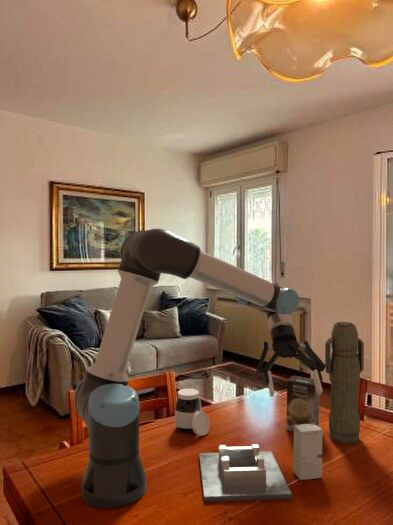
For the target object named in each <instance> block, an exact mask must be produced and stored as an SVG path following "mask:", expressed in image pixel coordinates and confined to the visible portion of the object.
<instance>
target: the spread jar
mask: <svg viewBox="0 0 393 525" xmlns="http://www.w3.org/2000/svg"><path fill="white" fill-rule="evenodd" d="M210 422H211V421H210V418H209V416H208V414H207V413H206V412H204V411H202V400H201V398H200V392H199V390H197V389H195V388H183V389H179V390H178V391H177V399H176V402H175V406H174V425H175V428H176V429H177V430H178V431H180V432H183V433H193V432H194V434H196V435H197V436H200V437H202V436H206V435H207V434H208V432H209V431H210V426H211V423H210Z"/></svg>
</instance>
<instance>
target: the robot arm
mask: <svg viewBox="0 0 393 525" xmlns="http://www.w3.org/2000/svg"><path fill="white" fill-rule="evenodd" d="M119 248H120V250H119V257H120V263H119V266H118V270H117V272H118V275H119V277H120V282H119V284H118V288H117V291H116V295H115V298H114V302H113V305H112V307H111V311H110V314H109V316H108V320H107V324H106V327H105V330H104V333H103V337H102V340H101V343H100V347H99V350H98V353H97V356H96V359H95V363H93V364H92V365H90V366H89V367H87V369H86V371H85V375H84V378H82V380H81V381H80V382H79V383H78V384H77V386H76V388H75V390H74V391H75V392H74V395H73V397H74V398H73V399H74V407H75V409H76V412H77V413H78V416H79V417H80V418H81V419H82V421H83V422H84V425H85V426H86V428H87V430H88V462H87V465H86V469H85V471H84V474H83V477H82V481H81V487H80V488H81V489H80V490H81V498H82V500H83V501H84V502H85V503H86V504H88V505H90V506H92V507H95V508H100V509H117V508H120V507H125V506H128V505H131V504H133V503H135V502H136V501H138V500H139V499H140V498H141V497H143V496H144V494H145V493H146V491H147V474H146V471H145V469H144V466H143V463H142V460H141V457H140V456H141V455H140V408H141V407H140V400H139V395H138V393H137V391H136V389H134V388H132V387H131V386H129V381H130V378H129V375H128V374H127V369H128V365H129V361H130V359H131V354H132V351H133V348H134V345H135V341H136V339H137V335H138V331H139V328H140V326H141V322H142V320H143V316H144V312H145V309H146V305H147V302H148V298H149V296H150V292H151V289H152V287H154V286H156V285H158V284H159V281H160V278H161V275H162V274H163V275H164V274H165V275H171V276H175V277H178V278H180V279H183V280H187V279H189V278H190V279H194V280H196V281H198V282H201V283H203V284H206V285H208V286H210V287H213V288H215V289H218V290H221V291H223V292H225V293H228V294H230V295H233V296H234V299H235V301H237V302H238V303H239V304H241V305H243V306H245V307H249V308H250V309H251V308H252V309H254V310H257V311H259V312H261V313H263V314H266V315H265V316H266V319H267V323H268V328H269V332H270V333H269V334H270V337H271V338H270V339H271V343H268V342H267V341H264V343H263V345H262V353H261V355H260V358H259V360H258V363H257V366H256V369H255V372H256V373H257V374H261V375H262V377H263V378H262V379H263V381H264V382H263V383H264V384H265V385H268V391H269V396H270V397H271V398H272V397H274V395H275V389H274V388H275V386H274V382H273V377H272V371H271V368H272V367H273V365H274V364H275V363H276V362H277V360H278V359H279V358H281V359H287V358H289V359H293V358H295V359H296V360H298V361H299V362H301V363H302V364H303V365H304V366H305V367H307V368H308V369H309V370H311V371H312V374H311V375H312V379H314V383H315V387H316V391H317V394H318V395H319V396H321V395H322V393H323V391H324V390H323V388H322V383H323V376H322V372H324V370H326V369H325V367H326V365H325V362H323V361H322V359H321V358H320V357H319V356H318V355H317V354H316V352H315V351H314V350H313V349H312V348H311V346H310V343H309V342H308V340H304V341H303V342H298V339H297V334H296V332H295V328H294V324H293V321H292V317H291V314H294V313H295V312H297V310H298V307H299V304H300V296H299V294H298V292H297V291H296V290H295V289H294V288H290V287H287V286H285V287H283V286H280V285H279V284H278V285H277V284H275V283H273V282H270V281H268V280H266V279H265V278H262V277H261V276H258V275H255V274H253V273H251V272H248V271H246V270H244V269H242V268H240V267H238V266H236V265H234V264H231V263H229V262H227V261H224V260H222V259H220V258H218V257H216V256H214V255H211V254H209V253H207V252H204V251H202V250H201V247H200V245H198V244H197V243H195V242H192V241H190V240H188V239H187V238H184V237H182V236H180V235H178V234H176V233H173V232H172V231H170V230H167V229H162V228H151V229H145V230H137V231H135V232H134V231H133V233H131V234H129V235H128V236H127V237H125V239H124V240H123V241H122V243H121V246H120V247H119ZM271 349H272V351H274V354H272V356H271V358H270V359H269V360H268V362H267V363H266V364H265V365H264V362H265V360H266V357H267V355H268V354H267V353H268V352H270V350H271ZM303 351H304V352H303ZM263 365H264V366H263Z"/></svg>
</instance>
